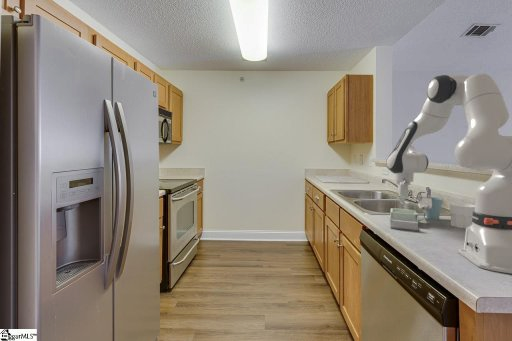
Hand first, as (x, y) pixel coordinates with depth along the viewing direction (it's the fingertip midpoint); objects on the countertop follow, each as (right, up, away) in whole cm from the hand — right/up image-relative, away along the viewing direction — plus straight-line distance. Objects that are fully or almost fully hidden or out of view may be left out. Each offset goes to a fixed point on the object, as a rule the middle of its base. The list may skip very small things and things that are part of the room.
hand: (402, 204), depth 155 cm
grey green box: (-5, -7, -10) cm, 14 cm away
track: (-6, -8, -14) cm, 17 cm away
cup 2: (+20, -8, -16) cm, 27 cm away
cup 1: (+16, -7, 0) cm, 17 cm away
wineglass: (+6, -8, -9) cm, 13 cm away
